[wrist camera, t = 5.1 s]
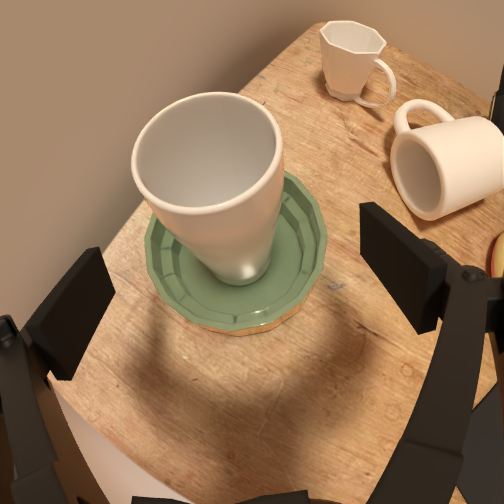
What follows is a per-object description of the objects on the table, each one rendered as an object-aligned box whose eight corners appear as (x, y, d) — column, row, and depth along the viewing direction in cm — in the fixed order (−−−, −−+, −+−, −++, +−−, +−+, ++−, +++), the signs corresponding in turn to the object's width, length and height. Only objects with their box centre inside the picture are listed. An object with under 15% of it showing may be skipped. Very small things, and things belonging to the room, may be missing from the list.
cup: (343, 65, 35) (351, 14, 27) (402, 113, 32) (422, 62, 24) (301, 82, 34) (304, 27, 26) (361, 135, 31) (379, 80, 23)
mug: (485, 205, 28) (525, 167, 20) (420, 235, 27) (460, 194, 20) (429, 119, 32) (452, 72, 24) (361, 135, 31) (378, 80, 23)
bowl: (216, 366, 25) (202, 367, 20) (142, 240, 29) (119, 217, 24) (348, 276, 26) (363, 257, 22) (260, 166, 30) (257, 133, 26)
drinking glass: (249, 204, 29) (227, 71, 14) (297, 264, 27) (319, 153, 12) (184, 248, 28) (107, 141, 14) (229, 313, 26) (173, 250, 11)
